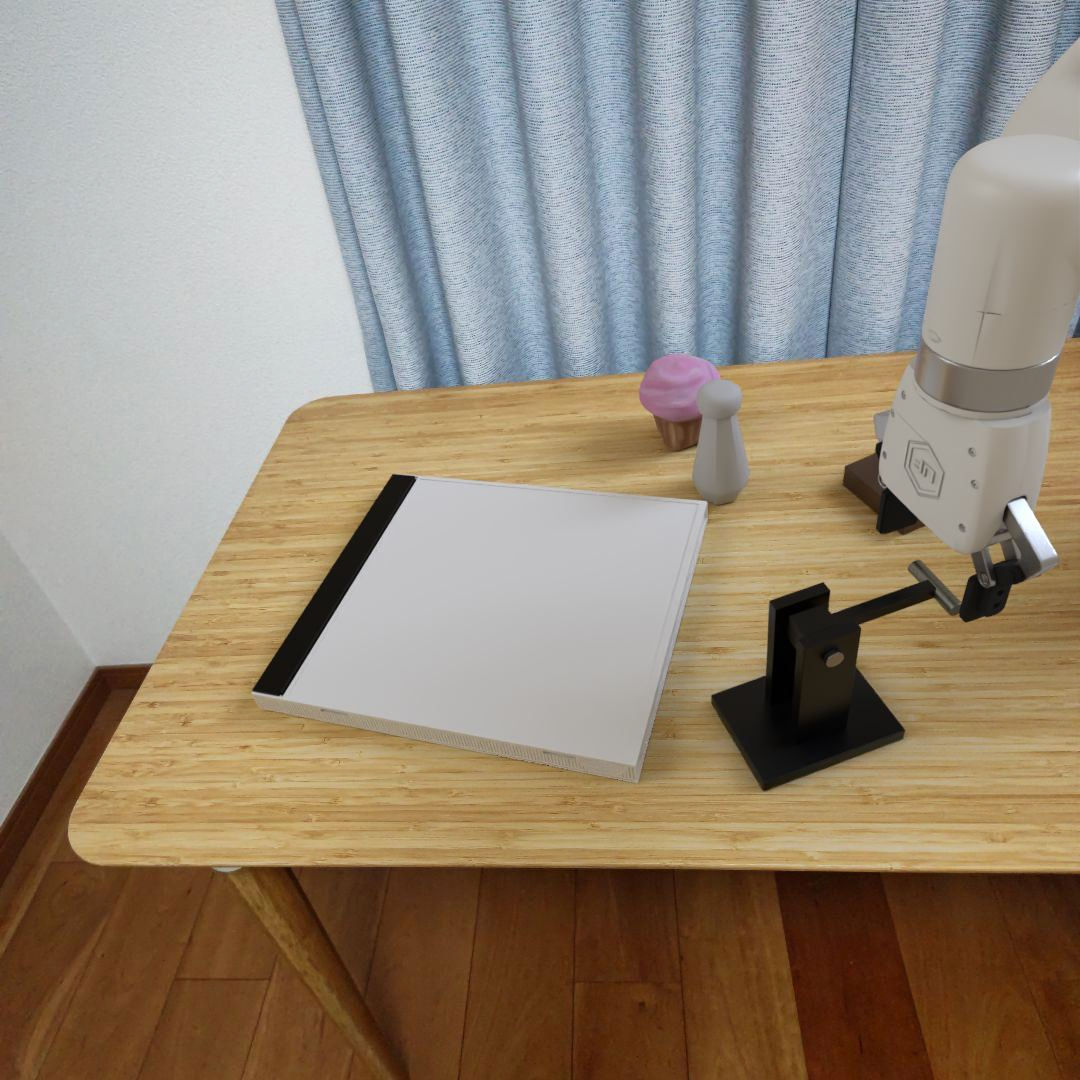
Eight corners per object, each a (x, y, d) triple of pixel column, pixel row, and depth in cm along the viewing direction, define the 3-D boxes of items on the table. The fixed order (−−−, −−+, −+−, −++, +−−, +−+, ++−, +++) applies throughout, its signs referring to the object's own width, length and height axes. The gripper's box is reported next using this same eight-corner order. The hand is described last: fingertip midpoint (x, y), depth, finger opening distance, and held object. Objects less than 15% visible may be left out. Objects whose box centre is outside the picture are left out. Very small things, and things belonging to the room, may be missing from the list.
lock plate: (945, 440, 94) (949, 420, 93) (1011, 486, 88) (1017, 465, 86) (842, 484, 92) (844, 464, 90) (902, 535, 85) (906, 514, 84)
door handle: (919, 574, 69) (923, 551, 67) (961, 618, 65) (967, 596, 63) (777, 624, 67) (778, 602, 66) (812, 672, 63) (814, 650, 62)
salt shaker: (757, 481, 94) (760, 376, 85) (737, 515, 91) (737, 410, 82) (705, 469, 97) (702, 366, 88) (683, 502, 93) (678, 398, 85)
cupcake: (665, 471, 97) (661, 394, 91) (630, 431, 104) (623, 356, 97) (737, 444, 99) (738, 366, 92) (698, 406, 105) (696, 331, 98)
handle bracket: (840, 656, 76) (854, 548, 68) (903, 739, 70) (928, 630, 61) (711, 703, 75) (708, 598, 66) (763, 792, 68) (768, 688, 59)
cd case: (249, 691, 79) (393, 471, 100) (259, 708, 81) (399, 488, 102) (635, 766, 68) (707, 501, 89) (637, 783, 70) (707, 519, 91)
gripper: (846, 316, 59) (825, 512, 70) (1031, 462, 46) (968, 671, 58) (947, 286, 60) (909, 484, 71) (1155, 421, 47) (1069, 635, 59)
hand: (936, 568), depth 65 cm, fingers open, 9 cm apart
